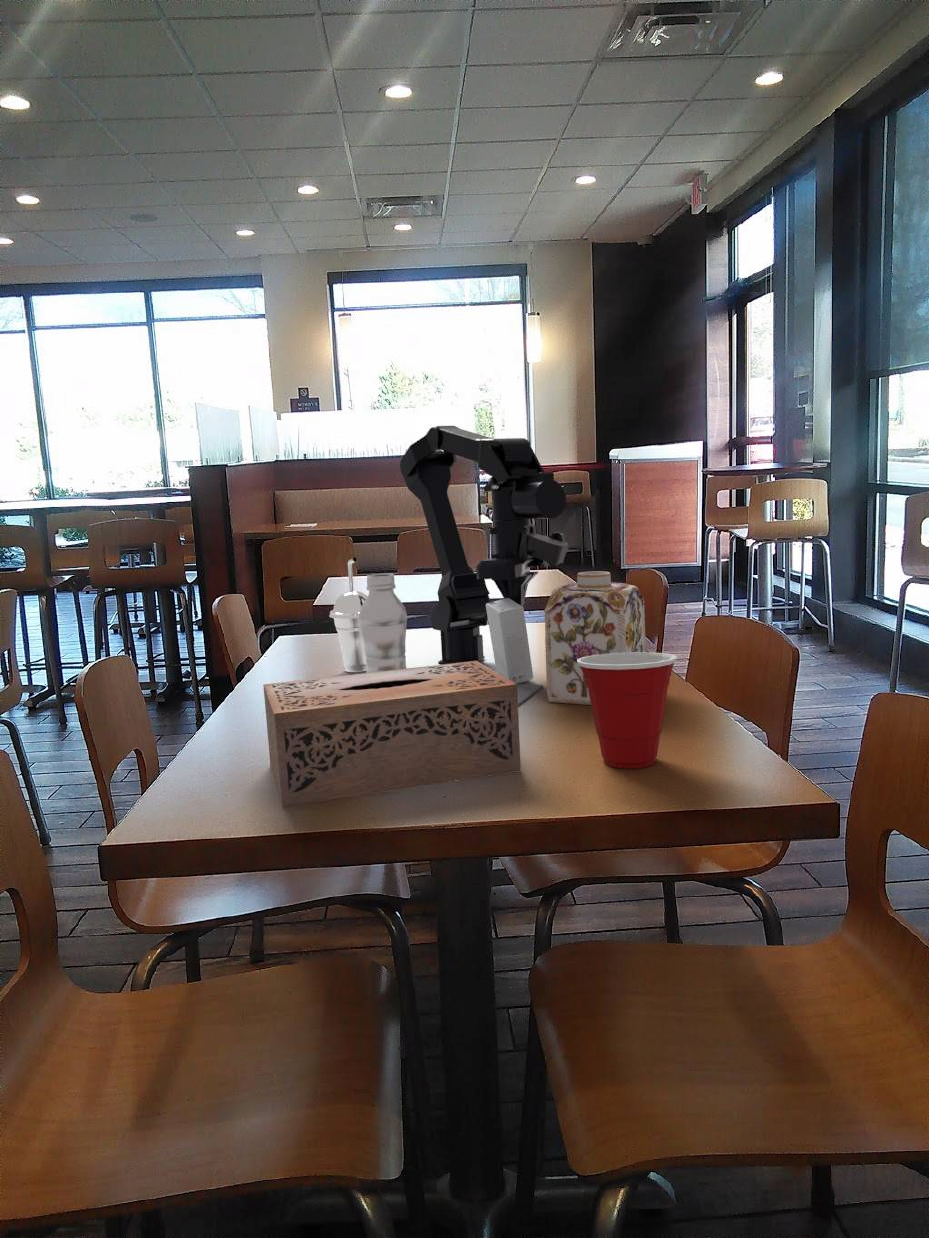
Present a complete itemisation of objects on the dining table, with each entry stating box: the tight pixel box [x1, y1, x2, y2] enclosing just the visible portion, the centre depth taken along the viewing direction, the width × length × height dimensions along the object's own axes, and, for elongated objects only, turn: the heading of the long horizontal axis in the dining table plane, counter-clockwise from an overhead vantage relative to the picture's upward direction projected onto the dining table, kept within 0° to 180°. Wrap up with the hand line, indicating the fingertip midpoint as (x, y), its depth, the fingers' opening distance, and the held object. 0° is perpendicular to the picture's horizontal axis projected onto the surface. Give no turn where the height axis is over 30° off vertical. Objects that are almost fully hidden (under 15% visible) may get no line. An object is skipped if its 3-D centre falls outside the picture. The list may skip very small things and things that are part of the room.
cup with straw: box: [328, 557, 368, 673], centre depth 153 cm, size 8×9×20 cm
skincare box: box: [486, 598, 534, 684], centre depth 138 cm, size 6×4×12 cm
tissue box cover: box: [262, 661, 522, 808], centre depth 100 cm, size 26×14×10 cm, turn 107°
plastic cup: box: [577, 651, 678, 770], centre depth 98 cm, size 11×11×12 cm
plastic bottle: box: [359, 573, 408, 673], centre depth 118 cm, size 6×7×20 cm
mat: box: [517, 683, 544, 707], centre depth 131 cm, size 12×14×1 cm
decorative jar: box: [543, 570, 647, 706], centre depth 127 cm, size 12×12×18 cm
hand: (517, 617), depth 141 cm, fingers closed
